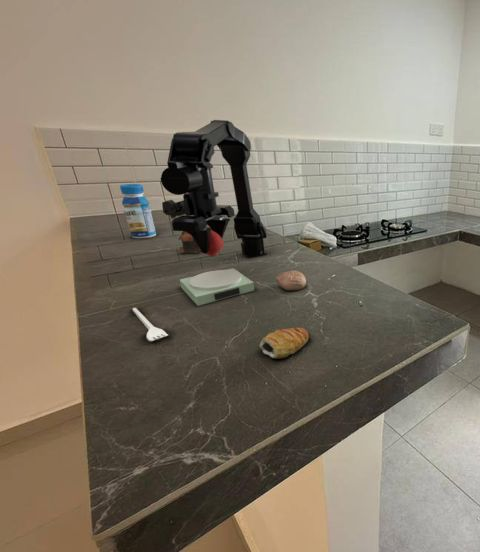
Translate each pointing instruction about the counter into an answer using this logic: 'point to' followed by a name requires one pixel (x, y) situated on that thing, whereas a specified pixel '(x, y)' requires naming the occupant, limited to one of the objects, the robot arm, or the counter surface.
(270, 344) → the pastry
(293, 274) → the pink oval lump
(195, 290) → the scale
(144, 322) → the fork
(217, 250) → the onion
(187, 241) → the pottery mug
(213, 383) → the counter surface
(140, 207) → the beverage bottle
